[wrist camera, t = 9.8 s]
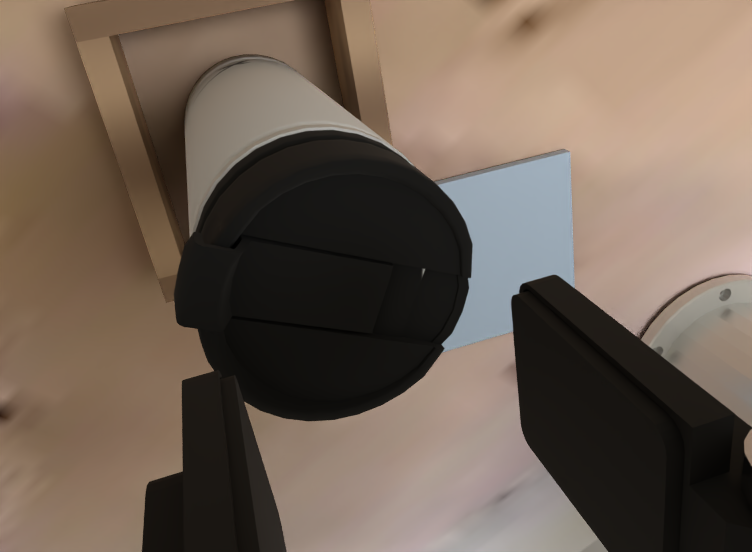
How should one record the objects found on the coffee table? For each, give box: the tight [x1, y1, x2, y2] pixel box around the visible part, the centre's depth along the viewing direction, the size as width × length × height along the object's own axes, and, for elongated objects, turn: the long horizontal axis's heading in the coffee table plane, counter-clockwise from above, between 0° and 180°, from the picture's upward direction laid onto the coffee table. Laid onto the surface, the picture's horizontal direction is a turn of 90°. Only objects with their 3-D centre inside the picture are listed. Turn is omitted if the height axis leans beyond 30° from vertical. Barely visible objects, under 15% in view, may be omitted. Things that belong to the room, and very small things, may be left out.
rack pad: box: [435, 149, 575, 352], centre depth 37 cm, size 10×10×1 cm
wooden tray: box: [64, 0, 393, 303], centre depth 30 cm, size 12×11×4 cm
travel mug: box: [174, 55, 473, 421], centre depth 22 cm, size 6×7×20 cm
